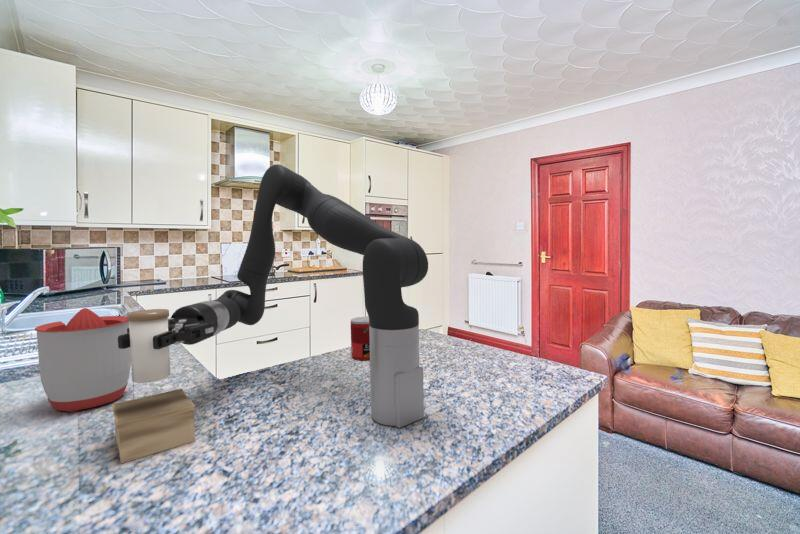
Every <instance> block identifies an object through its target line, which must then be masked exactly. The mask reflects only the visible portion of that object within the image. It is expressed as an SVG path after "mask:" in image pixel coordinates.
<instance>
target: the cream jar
mask: <svg viewBox="0 0 800 534" xmlns="http://www.w3.org/2000/svg"><path fill="white" fill-rule="evenodd" d="M126 317H127V320H128V321H129V332H130V351H131V368H130V370H131V381H132V383H137V384H145V383H146V384H147V383H153V382H158V381H161V380H164V379H167V378H169V377H170V376H171V357H170V345H169V346H167V347H164V348H161V349H154V348H153V337H154V336H155V335H158V334H161V333H164V332H167V331H168V318H169V317H170V311H169V309H166V308H164V309H163V308H154V309H153V308H152V309H151V308H150V309H142V310H141V309H140V310H136V311H131V312H127V313H126Z"/></svg>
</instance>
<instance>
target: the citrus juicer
mask: <svg viewBox="0 0 800 534" xmlns="http://www.w3.org/2000/svg"><path fill="white" fill-rule="evenodd" d="M127 328H129V321H128V320H127V315H126V316H123V315H107V316H106V315H103V316H100V315H98V314H97V313H95V312H94V311H93V310H91V309H89V308H86V307H84V308H81V309H80V310H78V312H77V313H75V315H74V316H73V317H72V318H71V319H70V320H69V321H68V322H67V324H66V323H64V322H63V321H54V322H48V323H45V324H41V325H38V326H36V327H35V328H34V331H36V339H37V354H38V357H37V358H38V369H39V376H40V382H41V385H42V388H43V392H44V393H45V395H46V397H47V400H48V402H49V404H50V406H51V407H52V408H53V409H54V410H55V411H59V412H60V411H61V412H62V411H63V412H69V413H74V412H79V411H80V410H86V409H92V408H95V407H99V406H102V405H106V404H109V403H112V402H115V401H118V400H119V398H121V397H122V396H123V395H124V394H125V392H126V389H127V387H128V381H129V377H130V373H131V351H130V347H128V348H125V349H119V348H118V337H119V336H120V335H123V334H126V333H127Z"/></svg>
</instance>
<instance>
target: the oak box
mask: <svg viewBox="0 0 800 534" xmlns="http://www.w3.org/2000/svg"><path fill="white" fill-rule="evenodd" d="M111 409H112V412H113V417H114V428H115V429H114V432H115V442H116V447H117V451H118V455H119V461H120V464H124V463H128V462H131V461H133V460H137V459H141V458H144V457H147V456H150V455H153V454H157V453H161V452H164V451H167V450H170V449H174V448H177V447H180V446H183V445H186V444H189V443H193V442H196V439H195V437H196V436H195V435H196V434H195V418H194V417H195V416H194V410H196V406H195V404H194V403H193V401H192V400H191V399H190V398H189V396H188V395H187V393H186V392H185V391H184V390H183V388H178V389H175V390H170V391H166V392H165V391H164V392H162V393H156V394H152V395H147V396H143V397H138V398H134V399H133V398H132V399H130V400H125V401H121V402H120V401H119V402H115V403H112V407H111Z"/></svg>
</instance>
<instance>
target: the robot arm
mask: <svg viewBox="0 0 800 534" xmlns="http://www.w3.org/2000/svg"><path fill="white" fill-rule="evenodd" d="M276 205H278V206H280V207H282V208H285V209H286V210H289V211H292V212H295V213H297V214H299V215H301V216H302V217H304V218H305V219H307V223H308V225H309V227H310V229H311V230H312V231H313V232H314V233H315V234H316V235H318V236H319V237H321V238H322V239H324V241H325V242H327V243H329V244H331V245H333V246H335V247H337V248H339V249H342V250H345V251H348V252H352V253H355V254H358V255H362V257H363V258H362V280H363V281H362V283H363V292H364V293H363V296H364V306H365V310H366V313H367V317H369V333H370V360H369V365H370V366H369V372H370V373H369V375H370V376H369V378H370V379H369V380H370V407H371V409H370V414H371V419H372V420H373V421H374V422H376V423H377V424H380V425H384V426H392V427H397V428H398V429H399V428H403V427H405V426H407V425H409V424H412V423H415V422H417V421H420V420H421V419H424V417H425V412H424V411H425V409H424V407H425V406H424V404H425V402H424V399H425V398H424V396H425V395H424V367H423V366H420V327H419V326H420V319H419V318H420V316H419V311H418V310H417V308H416V307H414V306H411V305H408V304H406V303H405V302H404V299H403V295H402V294H403V293H402V288H407V287H408V288H409V287H412V286H414V285H417V284H419V283H420V282H421V281H423V280H424V279H425V277H426V275H427V274H428V271H429V260H428V256H427V254H426V252H425V250H424V248H422V247H423V246H421V245H420V243H418V242H417V241H415V240H413V239H412V238H409V237H407V236H404V235H402V234H400V233H398V232H395V231H392V230H391V229H389V228H387V227H385V226H383V225H381V224H380V223H378V222H376V221H374V220H373V219H372V218H370V217H368V216H367V215H365V214H364V213H362V212H361V211H359V210H357V209H356V208H354V207H353V206H351V205H350V204H348V203H346V201H343V200H342V199H340V198H338V197H336V196H333V195H332V194H331V195H330V194H327V193H326V194H325V193H324V192H321V191H320V190H319V189H318V188H317V187H315V186H314V185H313V184H312V183H311V182H310V181H309V180H308V179H306V178H305V177H304V176H302V175H301V174H298V173H296V172H295V171H293V170H291V169H290V168H287V167H286V166H284V165H282V164H273V165H270V166H269V167H268V168H267V169H266V170H265V172H264V174H263V175H262V177H261V181H260V185H259V187H258V191H257V196H256V203H255V206H254V207H255V208H254V213H253V217H252V218H253V219H252V223H251V229H250V234H249V237H248V241H247V242H248V243H247V246H246V248H245V252H244V255H243V257H242V259H241V262H240V266H239V268H238V272H237V275H236V278H237V279H238V280H239V282H241V283H243V284H244V285H246V286H247V287H248V288H249V293H250V294H249V293H246V292H243V291H240V290H237V289H229V290H226V291H224V292H223V293H222V294H221V295H220V296H219V297H218V298H217V299H213V300H205V301H201V302H197V303H192V304H188V305H185V306H182V307H179V308H177V309H176V310H175V311H174V312H173V313H172V315H170V316H171V317H170V318H169V317H168V331H167V332H164V333H161V334H158V335H155V336H154V337H153V348H154V349H161V348H164V347H167V346H169V347H170V346H171V345H180V344H183V345H188V346H192V345H196V344H198V343H200V342H203V341H205V340H207V339H210V338H212V337H215V336H217V335H218V334H220V333H221V332H223V331H226V330H228V329H230V328H232V327H234V326H235V325H237V324H238V323H240V324H244V325H247V326H253V325H257V324H258V322H260V321H261V319H262V318H263V317H264V312H265V308H266V292H267V291H266V289H267V284H268V279H269V276H270V273H271V270H272V268H273V264H274V263H275V262H274V261H275V258H276V243H275V238H274V237H275V236H274V232H273V231H274V230H273V215H274V211H275V207H276ZM128 347H130V332H129V328H127V333H126V334H123V335H120V336H119V337H118V348H119V349H125V348H128Z"/></svg>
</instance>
